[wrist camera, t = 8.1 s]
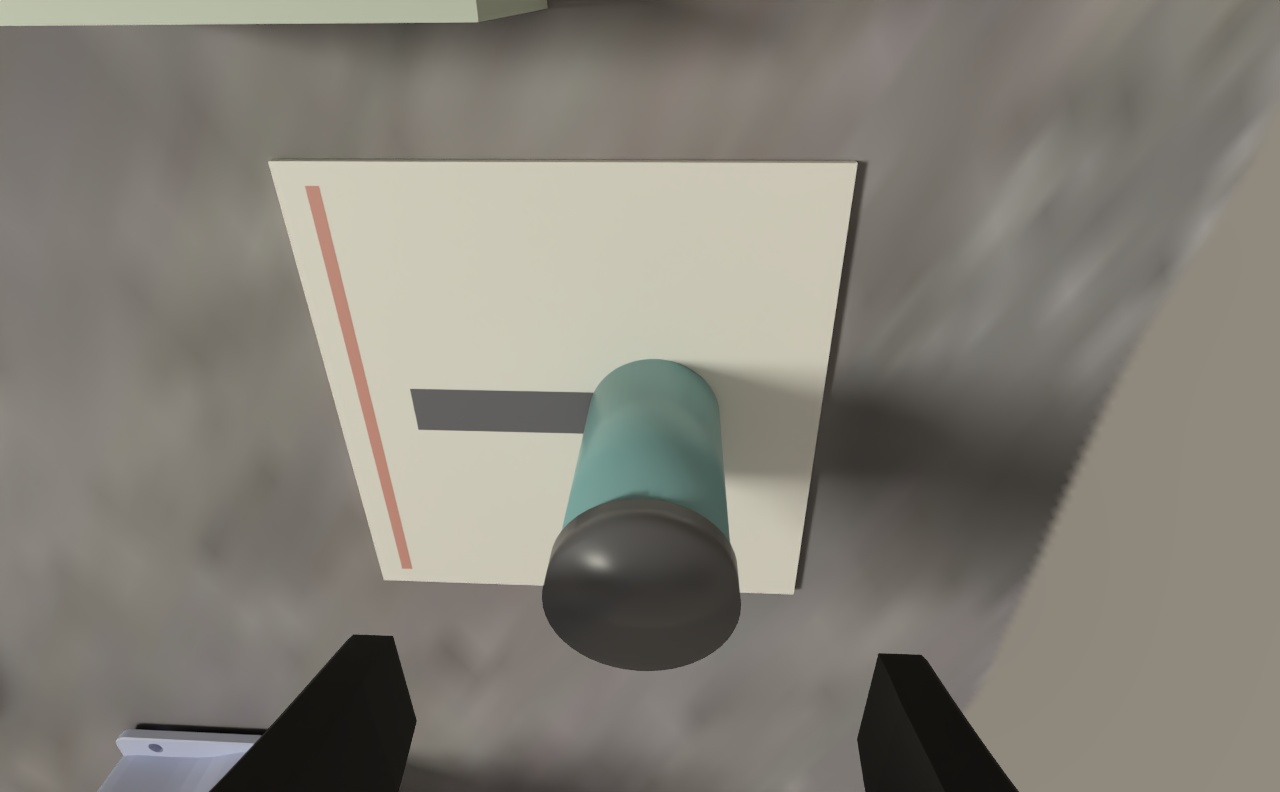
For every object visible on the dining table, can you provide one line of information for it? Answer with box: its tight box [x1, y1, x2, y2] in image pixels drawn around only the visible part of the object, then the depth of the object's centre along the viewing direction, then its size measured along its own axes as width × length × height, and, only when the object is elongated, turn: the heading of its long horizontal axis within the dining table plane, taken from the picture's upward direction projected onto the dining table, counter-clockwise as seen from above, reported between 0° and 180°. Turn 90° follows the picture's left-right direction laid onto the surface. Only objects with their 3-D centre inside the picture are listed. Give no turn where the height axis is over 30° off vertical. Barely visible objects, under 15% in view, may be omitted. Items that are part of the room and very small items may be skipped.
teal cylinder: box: [542, 359, 741, 671], centre depth 14 cm, size 3×3×6 cm
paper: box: [268, 159, 858, 594], centre depth 17 cm, size 12×12×1 cm
